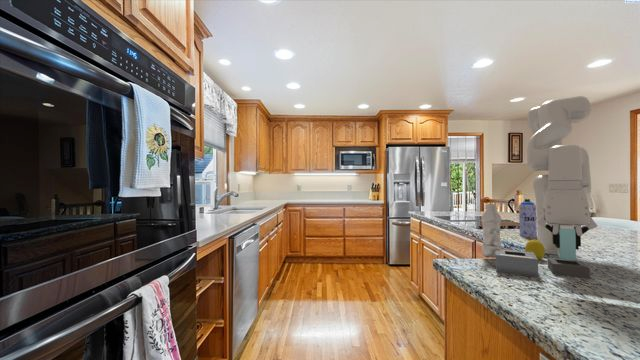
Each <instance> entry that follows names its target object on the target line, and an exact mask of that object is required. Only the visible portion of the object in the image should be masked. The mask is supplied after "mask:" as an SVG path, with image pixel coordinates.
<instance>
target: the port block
mask: <svg viewBox="0 0 640 360" xmlns="http://www.w3.org/2000/svg"><path fill="white" fill-rule="evenodd" d="M495 254H496V257H495V271H496V273H502V274H508V275H515V276H517V275H518V276H523V277H524V276H525V277H532V278H539V260H538V259H537V257H536V256H535V254H534V253H533V252H525V250H523V251H522V250H512V249H504V248H503V249H495Z"/></svg>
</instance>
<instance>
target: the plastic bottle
mask: <svg viewBox="0 0 640 360" xmlns="http://www.w3.org/2000/svg"><path fill="white" fill-rule="evenodd" d="M484 209H485V211H484V212H483V214H482V215H481V224H482V232H483V239H482V245H481V246H482V247H481V253H482V255H483V256H484V258H488V259H489V258H496V254H495V249H502V246H501V234H500V233H501V224H502V217H501V215H500V214H499V212H498V211H497V210H498V206H497V204H496V203H485V206H484Z"/></svg>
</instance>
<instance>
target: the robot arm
mask: <svg viewBox="0 0 640 360" xmlns="http://www.w3.org/2000/svg"><path fill="white" fill-rule="evenodd" d="M591 111H592V105H591V102H590V100H589V99H588V98H587V97H585V96H583V95H581V96H580V95H579V96H570V97H564V98H563V97H562V98H555V99H550V100H547V101H545V102H544V103H542V104H541V105H540V106H535V107H533V108H531V109H530V110H529V111H528V113H527V122H528V124H527V125H528V126H529V129H530V131H531V133H532V136H531V137H530V138H529V139H528V141H527V145H526V161H527V165H528V168H529V169H530V170H532V171H534V172H548V173H547V174H540V175H538V176H536V177H534V179H533V181H532V183H533V184H532V185H533V191H534V192H533V193H534V197H535V203H536V204H535V205H536V221H537V237H536V240H537V241H540V242H541V243H542V244H543V246H544V248H545V254H548V255H557V256H558V248H560V235H559V233H558V227H559V224H562V225H573V226H574V229H575V235H576V251H577V250H579V247H582V241H581V240H582V236H583V234H585V233H586V232H588V231H590V230H593V229H595V228H597V227H598V224H597V223H596V222H595V221H594V219H593V218H592V217H591V215H590V213H591V212H590V205H589V201H588V200H589V199H588V197H589V196H590V195H591V192H592V179H591V166H590V157H589V153H588V151H587V149H586V148H583V147H581V146H579V145H577V144H564V145H563V139H566V137H568V136H569V135H570V134H571V132H572V128H573V127H572V124H577V123H581V122H583V121H585V120H586V119H588V118H589V117H590V115H591ZM581 226H582V227H581Z"/></svg>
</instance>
